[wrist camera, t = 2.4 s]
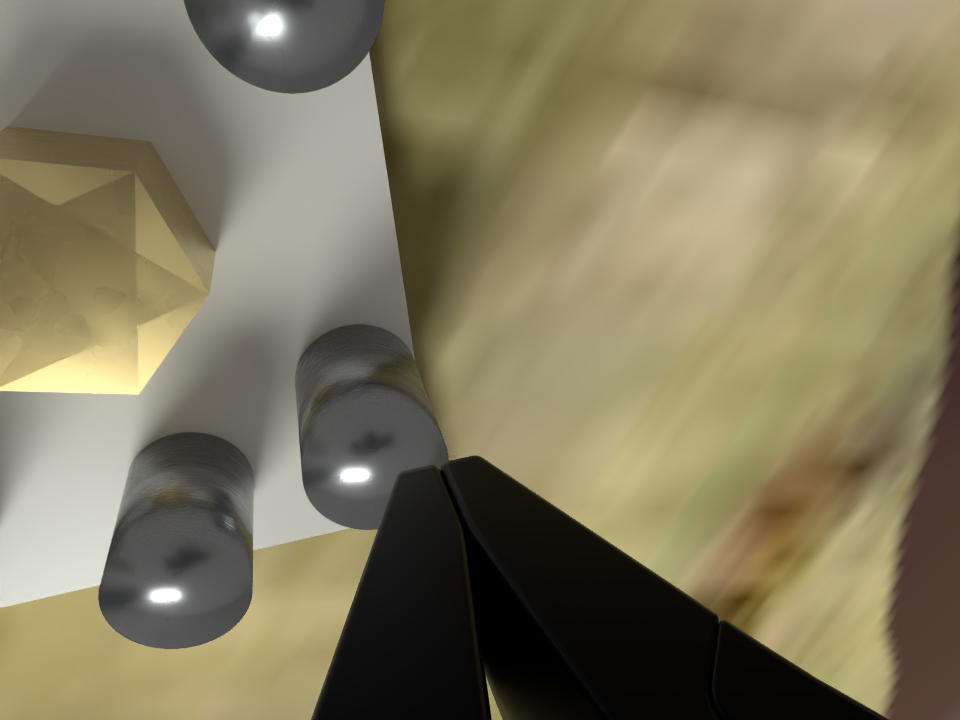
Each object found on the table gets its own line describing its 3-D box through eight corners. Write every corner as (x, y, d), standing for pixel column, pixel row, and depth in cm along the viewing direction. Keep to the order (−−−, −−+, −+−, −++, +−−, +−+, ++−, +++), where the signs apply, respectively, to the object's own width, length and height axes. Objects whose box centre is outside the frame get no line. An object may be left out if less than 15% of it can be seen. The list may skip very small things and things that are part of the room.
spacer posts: (-108, 598, 20) (-187, 739, 16) (-584, -188, 12) (-926, -241, 8) (432, 479, 22) (465, 580, 18) (324, -248, 14) (345, -309, 11)
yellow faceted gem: (61, 381, 18) (34, 441, 16) (-101, 171, 16) (-159, 209, 13) (244, 300, 18) (242, 348, 16) (115, 79, 16) (91, 101, 14)
